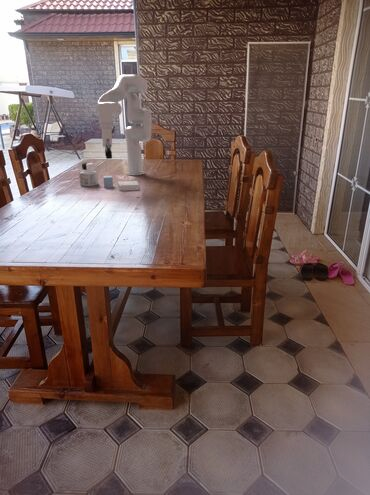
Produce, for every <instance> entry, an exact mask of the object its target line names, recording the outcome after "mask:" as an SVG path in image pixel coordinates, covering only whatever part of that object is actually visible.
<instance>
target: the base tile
mask: <svg viewBox="0 0 370 495" xmlns="http://www.w3.org/2000/svg"><path fill="white" fill-rule="evenodd" d="M117 187H118V189H119V190H118V191H121V192H123V191H139V190H140V185H139V183H138V181H137V180H124V181H123V180H122V181H118V182H117Z"/></svg>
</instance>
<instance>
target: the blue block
mask: <svg viewBox="0 0 370 495" xmlns="http://www.w3.org/2000/svg"><path fill="white" fill-rule="evenodd" d="M102 178H103V186H104V189H107V188H108V189H109V188H114V182H113V175H103V177H102Z"/></svg>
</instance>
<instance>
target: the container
mask: <svg viewBox="0 0 370 495" xmlns="http://www.w3.org/2000/svg"><path fill="white" fill-rule="evenodd" d="M81 167H82V168H81V169H82V171H80V172H79V174H78V176H79V182H80V184H79V185H80V186H85V187H92V186H96V185H99V175H98V171H95V169H94V163H93V162H83V163H82V164H81Z"/></svg>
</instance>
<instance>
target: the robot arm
mask: <svg viewBox="0 0 370 495" xmlns="http://www.w3.org/2000/svg"><path fill="white" fill-rule="evenodd" d="M148 88H149V85H148V81H147V80H146V79H145V78H144V77H142V76H141V75H139V74H121V75H119V76H118V78H117V79H116V81H115V83H114V85H113V87H112V89H109V90H108V91H106V92H105V93H103V94H102V95H100V97H99V99H98V101H97V103H96V106H95V110H96V113H97V115H98V121H99V123H98V124H99V129H100V130H101V139H102V142H101V143H102V147H103V148H104V153H105V157H106V159H107V160H108V159H113V154H112V152H113V151H112V146H113V135H112V134H113V133H112V130H114V117H118V116H120V115H121V114H122V111H123V107H122V105H121V104H120V103H119V102H121V101H124V100H125V99H126V102H127V103H126V104H127V106H126V107H127V108H126V109H127V110H126V116H127V122H128V123H129V124H135V125H129V126H127V127H126V128H125V129H124V137H125V141H126V149H127V150H126V151H127V152H126V153H127V169H128V171H126V172H125V173H126V175H127V176H142V174H143V175H145V172H146V171H143V158H142V156H143V155H142V146H141V145H140V143H139V142H149V141H150V140H151V138H152V124H153V123H152V112H151V110H150V109H148V108H141V99H140V97H139V96H138V94H145V93H147V91H148Z"/></svg>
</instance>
